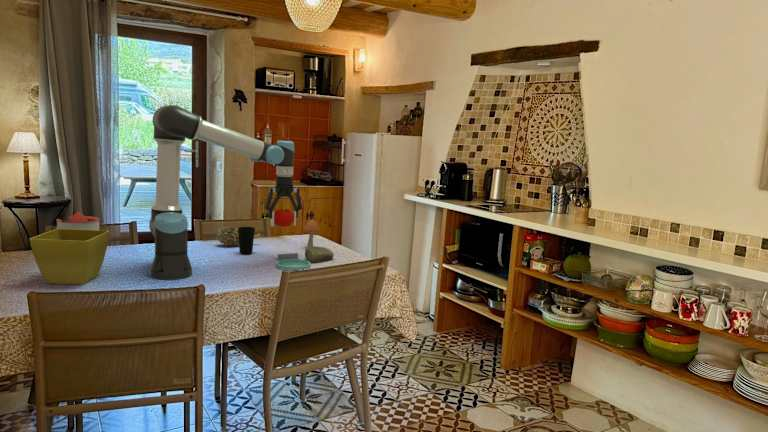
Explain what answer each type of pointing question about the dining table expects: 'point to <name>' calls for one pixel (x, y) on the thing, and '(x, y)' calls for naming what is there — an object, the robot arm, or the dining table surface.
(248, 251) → the cup
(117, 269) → the dining table surface
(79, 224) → the citrus juicer
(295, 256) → the rail
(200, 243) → the dining table surface
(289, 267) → the dish
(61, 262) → the flower pot
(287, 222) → the tomato
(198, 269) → the dining table surface
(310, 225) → the mushroom
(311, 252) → the stone
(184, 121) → the robot arm
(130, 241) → the dining table surface
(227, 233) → the pine cone
